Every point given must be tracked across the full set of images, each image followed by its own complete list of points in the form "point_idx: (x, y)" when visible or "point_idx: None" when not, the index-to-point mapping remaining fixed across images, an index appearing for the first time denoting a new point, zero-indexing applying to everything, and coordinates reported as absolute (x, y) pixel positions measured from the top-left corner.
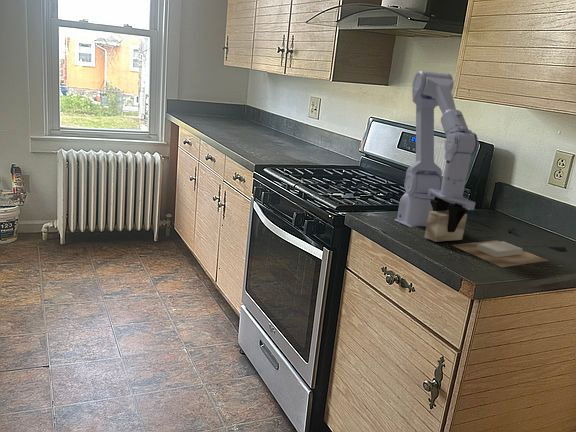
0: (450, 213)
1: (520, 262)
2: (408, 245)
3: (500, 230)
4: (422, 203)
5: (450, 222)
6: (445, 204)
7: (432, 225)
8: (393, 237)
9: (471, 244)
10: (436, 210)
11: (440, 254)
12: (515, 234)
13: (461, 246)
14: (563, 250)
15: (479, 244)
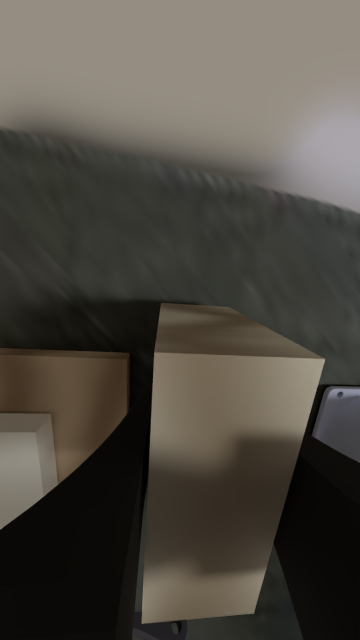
0: (111, 485)
1: None
2: (215, 196)
3: (213, 617)
4: None
5: (127, 419)
6: (327, 631)
7: (209, 320)
8: (314, 217)
9: None
10: (308, 460)
11: (83, 249)
12: (155, 629)
13: (101, 387)
14: None
15: (26, 434)
